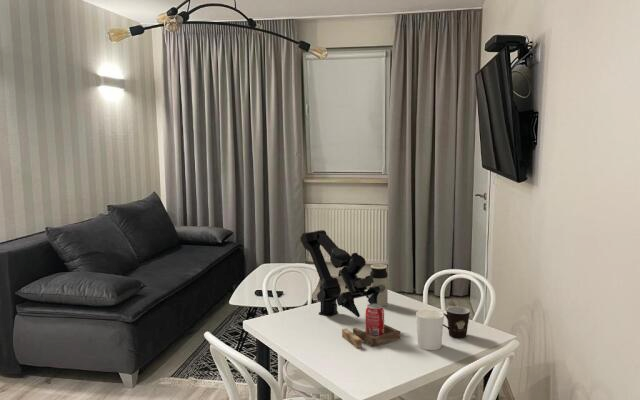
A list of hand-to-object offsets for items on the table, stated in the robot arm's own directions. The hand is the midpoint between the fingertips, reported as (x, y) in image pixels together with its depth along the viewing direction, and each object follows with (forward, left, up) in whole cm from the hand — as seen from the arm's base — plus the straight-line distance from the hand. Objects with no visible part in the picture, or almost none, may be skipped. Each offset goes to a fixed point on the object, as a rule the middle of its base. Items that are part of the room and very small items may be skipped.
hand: (368, 314), depth 188 cm
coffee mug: (+28, +16, -8) cm, 34 cm away
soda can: (+4, -2, -7) cm, 9 cm away
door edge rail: (-1, -11, -8) cm, 13 cm away
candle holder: (+24, +1, -8) cm, 26 cm away
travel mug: (-13, +34, -8) cm, 37 cm away
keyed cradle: (+4, -2, -8) cm, 9 cm away
